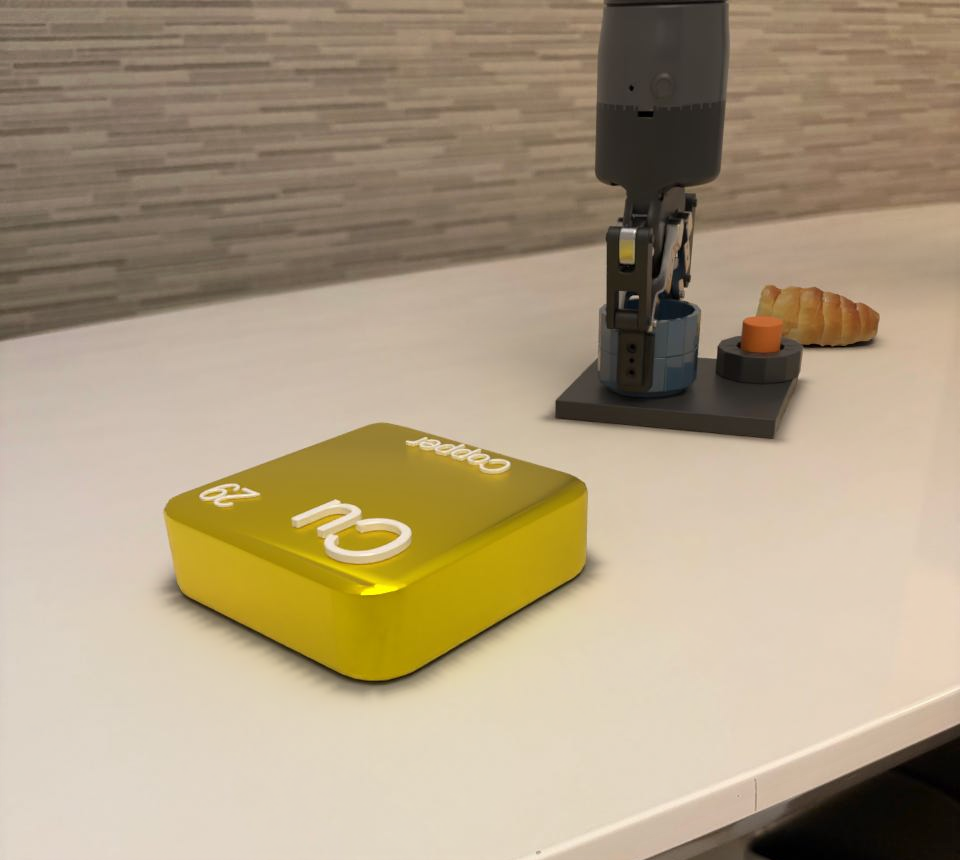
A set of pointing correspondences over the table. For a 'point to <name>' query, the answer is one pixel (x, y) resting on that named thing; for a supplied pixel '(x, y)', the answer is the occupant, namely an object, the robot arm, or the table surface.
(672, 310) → the blue cup
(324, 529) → the element tile
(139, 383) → the table surface
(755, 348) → the button
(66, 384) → the table surface
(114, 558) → the table surface
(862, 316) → the pastry
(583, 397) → the scale
